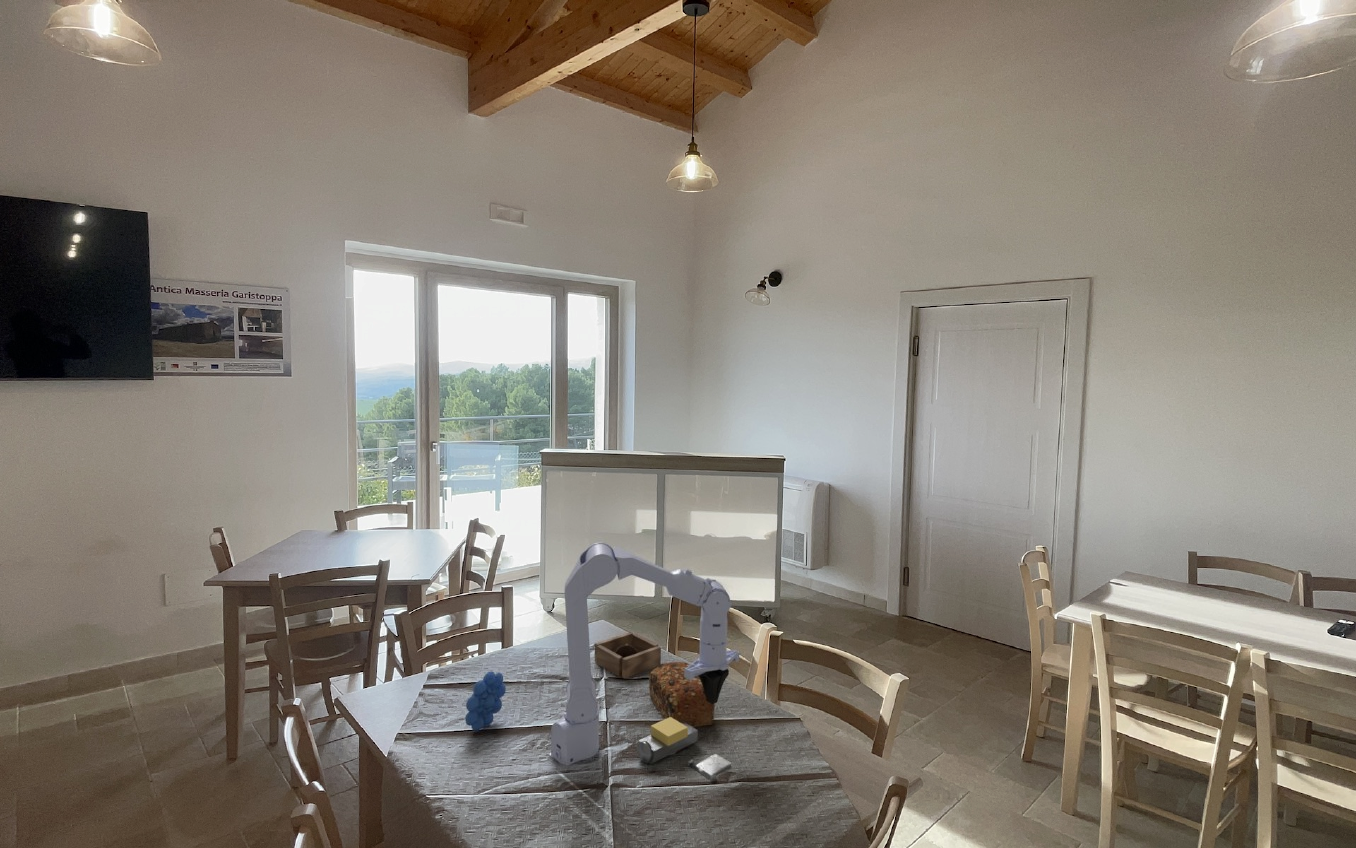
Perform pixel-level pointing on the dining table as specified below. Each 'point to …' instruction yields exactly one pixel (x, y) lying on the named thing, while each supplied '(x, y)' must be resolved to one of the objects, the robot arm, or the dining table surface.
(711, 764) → the plate
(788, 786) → the dining table surface
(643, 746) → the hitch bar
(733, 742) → the dining table surface
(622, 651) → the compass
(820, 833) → the dining table surface
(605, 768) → the dining table surface
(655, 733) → the pale yellow block
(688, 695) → the bread
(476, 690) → the grapes
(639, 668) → the open wooden box
